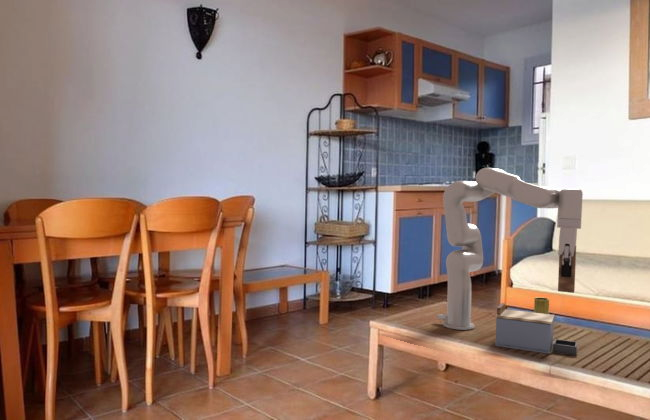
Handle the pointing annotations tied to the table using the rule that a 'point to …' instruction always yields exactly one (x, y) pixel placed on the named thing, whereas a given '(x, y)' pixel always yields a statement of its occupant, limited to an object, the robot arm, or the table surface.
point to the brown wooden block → (567, 282)
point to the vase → (541, 305)
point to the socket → (565, 347)
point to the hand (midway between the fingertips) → (566, 275)
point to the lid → (523, 315)
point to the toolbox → (524, 335)
